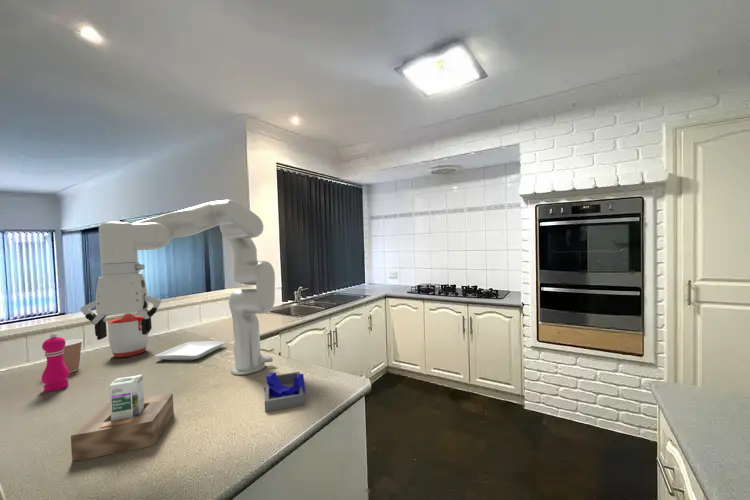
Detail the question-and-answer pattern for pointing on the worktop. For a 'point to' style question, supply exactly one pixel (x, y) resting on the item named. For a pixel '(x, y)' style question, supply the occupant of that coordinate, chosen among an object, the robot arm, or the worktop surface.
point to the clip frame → (287, 400)
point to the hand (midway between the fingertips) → (124, 335)
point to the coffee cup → (72, 354)
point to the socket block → (122, 429)
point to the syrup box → (126, 397)
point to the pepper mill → (54, 364)
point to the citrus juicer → (127, 336)
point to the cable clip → (282, 390)
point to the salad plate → (190, 350)
